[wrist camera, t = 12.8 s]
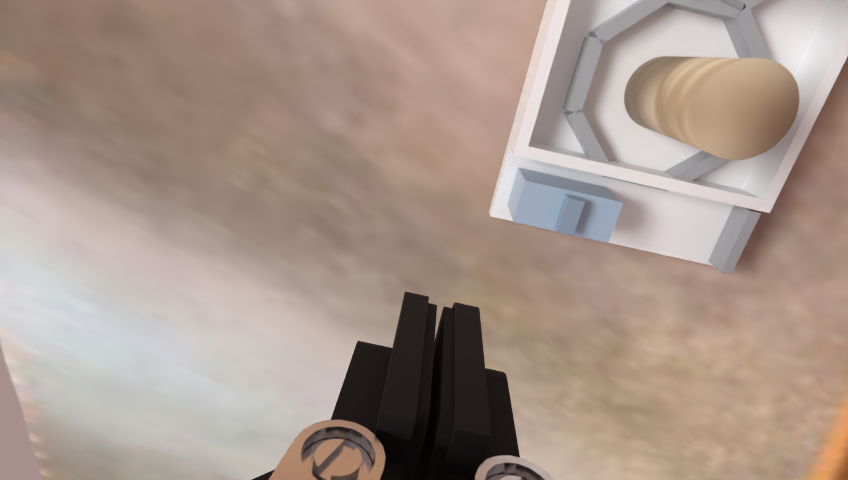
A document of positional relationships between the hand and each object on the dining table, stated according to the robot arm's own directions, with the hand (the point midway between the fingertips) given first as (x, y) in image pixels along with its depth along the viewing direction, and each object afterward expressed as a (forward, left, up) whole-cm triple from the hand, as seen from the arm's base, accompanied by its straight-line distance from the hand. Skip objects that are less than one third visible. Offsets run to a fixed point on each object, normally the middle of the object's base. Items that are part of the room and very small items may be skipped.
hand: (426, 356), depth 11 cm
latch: (0, +6, -18) cm, 19 cm away
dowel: (-7, +10, -18) cm, 21 cm away
